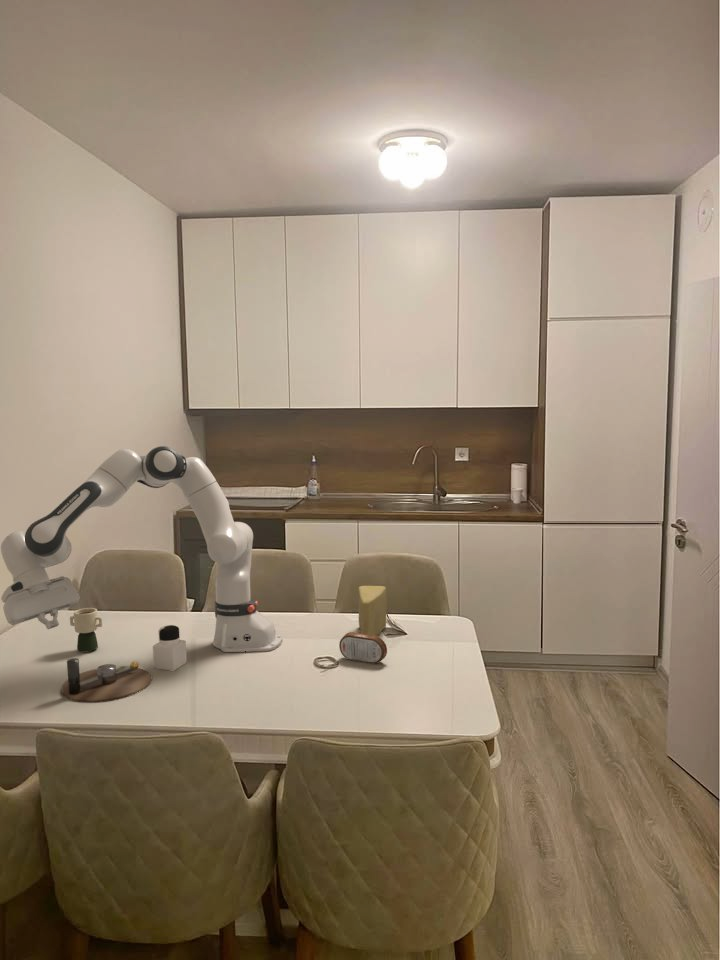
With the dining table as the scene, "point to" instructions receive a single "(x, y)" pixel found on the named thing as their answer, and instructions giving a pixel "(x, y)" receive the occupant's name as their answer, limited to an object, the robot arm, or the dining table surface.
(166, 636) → the medicine bottle
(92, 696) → the stand
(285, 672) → the dining table surface
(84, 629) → the character mug
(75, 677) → the crank lever
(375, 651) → the tin
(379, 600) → the cheese
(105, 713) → the dining table surface
